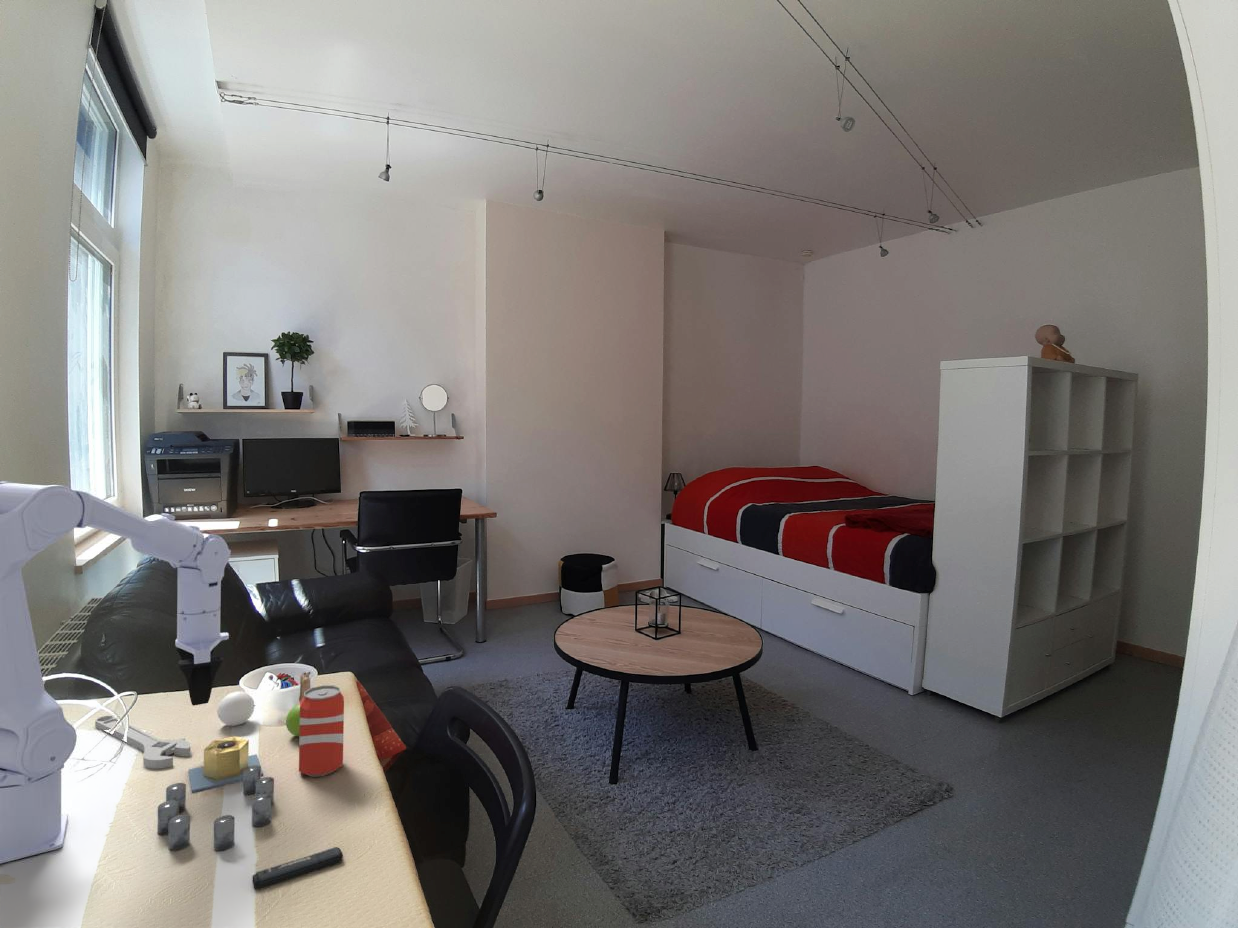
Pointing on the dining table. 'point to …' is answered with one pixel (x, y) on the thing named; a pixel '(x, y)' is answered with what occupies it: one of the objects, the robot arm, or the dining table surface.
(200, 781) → the mat
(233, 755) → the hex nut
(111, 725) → the adjustable wrench
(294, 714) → the snail figurine
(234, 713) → the white egg
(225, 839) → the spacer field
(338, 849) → the usb stick
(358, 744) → the dining table surface
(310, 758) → the beverage can
